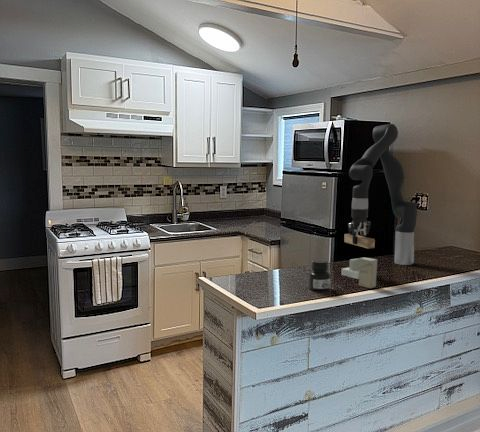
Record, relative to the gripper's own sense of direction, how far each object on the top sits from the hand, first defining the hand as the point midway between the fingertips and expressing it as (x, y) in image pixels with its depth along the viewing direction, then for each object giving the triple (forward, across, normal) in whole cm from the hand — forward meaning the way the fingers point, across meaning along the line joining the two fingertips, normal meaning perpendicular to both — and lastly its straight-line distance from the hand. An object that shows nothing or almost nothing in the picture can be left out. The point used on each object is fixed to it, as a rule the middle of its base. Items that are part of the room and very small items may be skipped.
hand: (358, 243), depth 218 cm
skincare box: (+16, +12, +16) cm, 25 cm away
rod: (+1, 0, 0) cm, 1 cm away
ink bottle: (+16, +32, +7) cm, 36 cm away
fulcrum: (+15, 0, 0) cm, 15 cm away
